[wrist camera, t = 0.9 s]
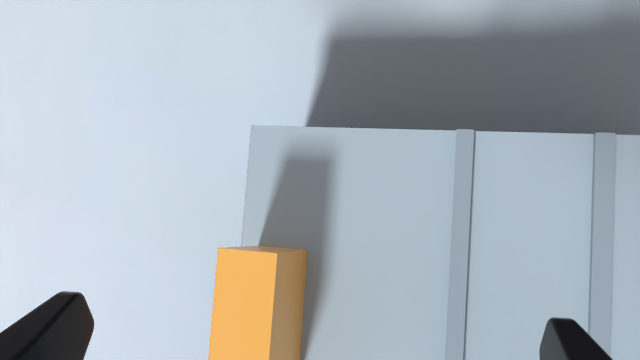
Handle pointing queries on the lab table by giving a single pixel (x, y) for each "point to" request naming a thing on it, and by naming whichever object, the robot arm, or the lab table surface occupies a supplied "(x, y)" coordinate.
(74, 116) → the lab table surface
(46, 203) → the lab table surface
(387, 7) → the lab table surface
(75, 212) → the lab table surface
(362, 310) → the lid
